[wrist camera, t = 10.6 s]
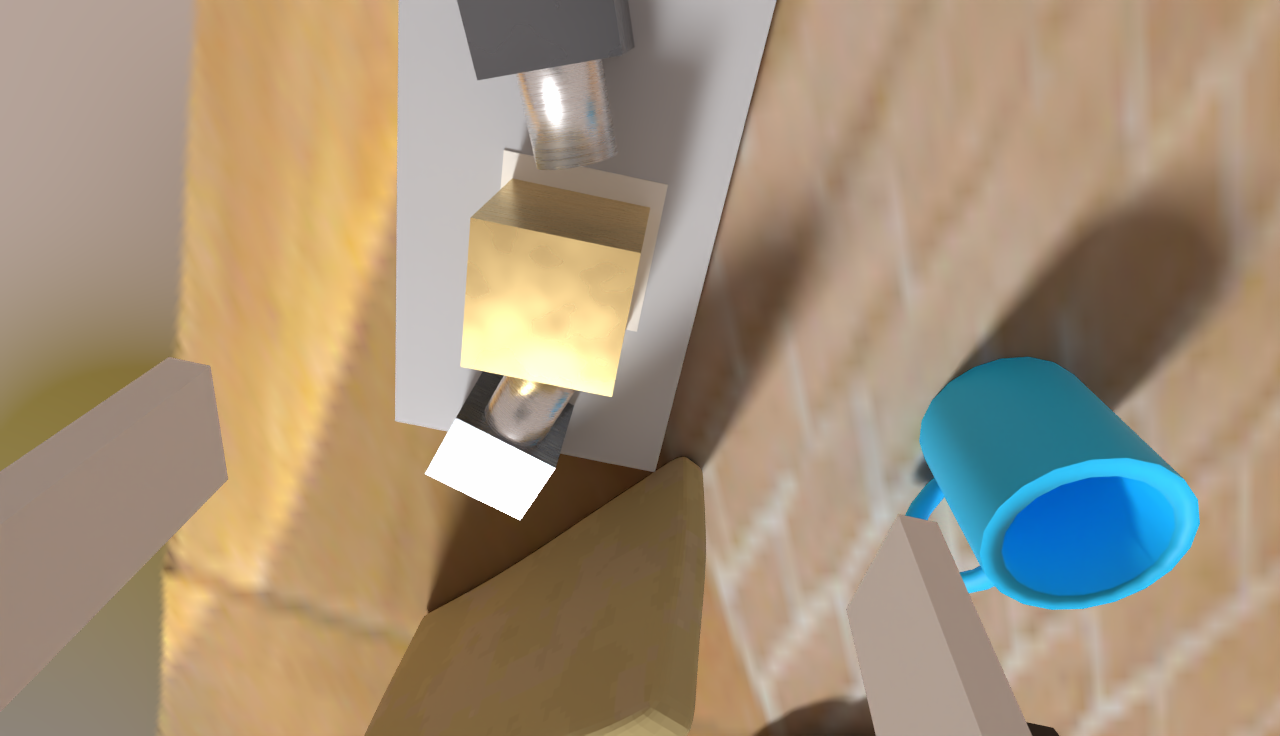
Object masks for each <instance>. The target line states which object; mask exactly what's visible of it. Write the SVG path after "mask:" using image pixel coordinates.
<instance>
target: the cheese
mask: <svg viewBox="0 0 1280 736" xmlns="http://www.w3.org/2000/svg"><path fill="white" fill-rule="evenodd" d="M705 562H706V528H705V506H704V488H703V474H702V470H701V468H700V467H699V466H697V465H696V464H695V463H693V462H692V461H691V460H689V459H688V458H686V457H679V458H676V459H674V460H672V461H670V462H669V463H667V464H666V465H664V466H662V467H661V468H659V469H658V470H656V471H655V472H654V473H652V474H651V475H649V476H648V477H646V478H645V479H643V480H642V481H640V482H639V483H637V484H636V485H634V486H633V487H631V488H630V489H628V490H627V491H625V492H624V493H622V494H621V495H619V496H617V497H616V498H614V499H613V500H611V501H610V502H608V503H607V504H605V505H604V506H602V507H601V508H599V509H598V510H596V511H595V512H593V513H592V514H590V515H589V516H587V517H586V518H584V519H583V520H581V521H580V522H578V523H577V524H575V525H574V526H573V527H571V528H570V529H568V530H567V531H565V532H564V533H562V534H561V535H559V536H558V537H556V538H555V539H553V540H552V541H550V542H549V543H547V544H546V545H544V546H543V547H541V548H540V549H538V550H537V551H535V552H534V553H532V554H531V555H529V556H527V557H526V558H524V559H523V560H521V561H520V562H518V563H516V564H515V565H513V566H512V567H510V568H508V569H507V570H505V571H503V572H502V573H500V574H499V575H497V576H495V577H493V578H492V579H490V580H488V581H487V582H485V583H483V584H481V585H480V586H478V587H476V588H474V589H473V590H471V591H469V592H467V593H466V594H464V595H462V596H460V597H458V598H456V599H455V600H453V601H451V602H449V603H447V604H445V605H443V606H441V607H440V608H438V609H436V610H434V611H432V612H430V613H428V614H427V615H426V616H424V618H423V619H422V621H421V623H420V625H419V627H418V629H417V631H416V633H415V635H414V637H413V639H412V641H411V643H410V645H409V647H408V649H407V651H406V652H405V654H404V656H403V658H402V660H401V662H400V664H399V666H398V668H397V670H396V672H395V674H394V676H393V678H392V680H391V682H390V684H389V686H388V688H387V690H386V692H385V694H384V696H383V698H382V700H381V702H380V704H379V706H378V708H377V710H376V712H375V714H374V716H373V718H372V720H371V723H370V725H369V727H368V729H367V731H366V733H365V736H687V734H688V732H689V730H690V728H691V725H692V721H693V716H694V709H695V698H696V683H697V668H698V654H699V641H700V629H701V618H702V606H703V594H704V581H705Z"/></svg>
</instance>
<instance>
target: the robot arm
mask: <svg viewBox="0 0 1280 736" xmlns="http://www.w3.org/2000/svg"><path fill="white" fill-rule="evenodd" d="M227 480H228V476H227V469H226V463H225V457H224V450H223V444H222V437H221V431H220V424H219V418H218V412H217V405H216V399H215V392H214V386H213V379H212V373H211V367H210V366H208V365H203V364H199V363H194V362H190V361H185V360H180V359H176V358H171V357H168V358H167V359H165V360H164V361H162V362H161V363H159V364H158V365H156V366H155V367H153V368H152V369H151V370H149V371H148V372H146V373H145V374H143V375H142V376H140V377H139V378H137V379H136V380H134V381H133V382H131V383H130V384H129V385H127V386H126V387H124V388H123V389H121V390H120V391H118V392H117V393H115V394H114V395H112V396H111V397H109V398H108V399H107V400H105V401H103V402H102V403H101V404H99V405H98V406H96V407H95V408H93V409H92V410H90V411H89V412H87V413H86V414H84V415H83V416H82V417H80V418H79V419H77V420H76V421H74V422H73V423H71V424H70V425H68V426H67V427H65V428H64V429H62V430H61V431H59V432H58V433H56V434H55V435H53V436H52V437H51V438H49V439H47V440H46V441H45V442H43V443H42V444H40V445H39V446H37V447H36V448H34V449H33V450H31V451H30V452H28V453H27V454H25V455H24V456H23V457H21V458H20V459H18V460H17V461H15V462H14V463H12V464H11V465H9V466H8V467H6V468H5V469H3V470H2V471H0V712H1V711H2V710H3V709H4V708H5V707H6V706H7V704H8V703H10V701H11V700H12V699H13V698H14V697H15V696H16V695H17V694H18V693H19V692H20V691H21V690H22V689H23V688H24V687H25V686H26V685H27V684H28V683H29V682H30V681H31V680H32V679H33V678H34V677H35V676H36V675H37V674H38V673H39V672H40V671H41V670H42V669H43V668H44V667H45V666H46V665H47V664H48V663H49V662H50V661H51V659H53V658H54V657H55V655H56V654H58V652H59V651H60V650H61V649H62V648H63V647H64V646H65V645H66V644H67V643H68V642H69V641H70V640H71V639H72V638H73V637H74V636H75V635H76V634H77V633H78V632H79V631H80V630H81V629H82V628H83V627H84V626H85V625H86V624H87V623H88V622H89V621H90V620H91V619H92V618H93V617H94V616H95V614H97V613H98V611H100V610H101V609H102V608H103V606H104V605H105V604H106V603H107V602H108V601H109V600H110V599H111V598H112V597H113V596H114V595H115V594H116V593H117V592H118V591H119V590H120V589H121V588H122V587H123V586H124V585H125V584H126V583H127V582H128V581H129V580H130V579H131V578H132V577H133V576H134V575H135V574H136V573H137V572H138V571H139V570H140V569H141V568H142V567H143V565H144V564H146V562H148V561H149V559H150V558H151V557H152V556H153V555H154V554H155V553H156V552H157V551H158V550H159V549H160V548H161V547H162V546H163V545H164V544H165V543H166V542H167V541H168V540H169V539H170V538H171V537H172V536H173V535H174V534H175V533H176V532H177V531H178V530H179V529H180V528H181V527H182V526H183V525H184V524H185V523H186V522H187V521H188V520H189V519H190V518H191V517H192V516H193V515H194V514H195V512H196V511H197V510H198V509H199V508H200V507H201V506H202V505H203V504H204V503H205V502H206V501H207V500H208V499H209V498H210V497H211V496H212V495H213V494H214V493H215V492H216V491H217V490H218V489H219V488H220V487H221V486H222V485H223V484H224V483H225V482H226V481H227ZM846 610H847V615H848V619H849V623H850V628H851V632H852V636H853V640H854V645H855V649H856V653H857V657H858V662H859V666H860V670H861V674H862V679H863V683H864V687H865V691H866V696H867V700H868V704H869V708H870V713H871V717H872V721H873V725H874V730H875V734H876V736H1059V735H1058V733H1057V732H1056V731H1055V730H1054V728H1051V727H1046V726H1042V725H1037V724H1032V723H1027V722H1026V721H1025V719H1024V716H1023V714H1022V712H1021V710H1020V707H1019V705H1018V703H1017V701H1016V698H1015V696H1014V694H1013V692H1012V689H1011V687H1010V685H1009V683H1008V680H1007V678H1006V676H1005V674H1004V671H1003V669H1002V667H1001V665H1000V662H999V660H998V658H997V656H996V653H995V651H994V649H993V647H992V644H991V642H990V640H989V638H988V636H987V633H986V631H985V629H984V627H983V624H982V622H981V620H980V618H979V615H978V613H977V611H976V609H975V606H974V604H973V602H972V600H971V597H970V595H969V593H968V591H967V588H966V586H965V584H964V582H963V579H962V577H961V575H960V573H959V570H958V568H957V566H956V564H955V561H954V559H953V557H952V555H951V552H950V550H949V548H948V546H947V544H946V541H945V539H944V537H943V535H942V532H941V530H940V528H939V526H938V523H937V522H933V521H928V520H924V519H919V518H914V517H910V516H905V515H900V514H898V516H897V517H896V519H895V521H894V523H893V525H892V526H891V528H890V530H889V532H888V534H887V536H886V537H885V539H884V541H883V543H882V545H881V547H880V548H879V550H878V552H877V554H876V556H875V558H874V559H873V561H872V563H871V565H870V567H869V568H868V570H867V572H866V574H865V576H864V578H863V579H862V581H861V583H860V585H859V587H858V589H857V590H856V592H855V594H854V596H853V598H852V600H851V601H850V603H849V605H848V607H847V609H846Z"/></svg>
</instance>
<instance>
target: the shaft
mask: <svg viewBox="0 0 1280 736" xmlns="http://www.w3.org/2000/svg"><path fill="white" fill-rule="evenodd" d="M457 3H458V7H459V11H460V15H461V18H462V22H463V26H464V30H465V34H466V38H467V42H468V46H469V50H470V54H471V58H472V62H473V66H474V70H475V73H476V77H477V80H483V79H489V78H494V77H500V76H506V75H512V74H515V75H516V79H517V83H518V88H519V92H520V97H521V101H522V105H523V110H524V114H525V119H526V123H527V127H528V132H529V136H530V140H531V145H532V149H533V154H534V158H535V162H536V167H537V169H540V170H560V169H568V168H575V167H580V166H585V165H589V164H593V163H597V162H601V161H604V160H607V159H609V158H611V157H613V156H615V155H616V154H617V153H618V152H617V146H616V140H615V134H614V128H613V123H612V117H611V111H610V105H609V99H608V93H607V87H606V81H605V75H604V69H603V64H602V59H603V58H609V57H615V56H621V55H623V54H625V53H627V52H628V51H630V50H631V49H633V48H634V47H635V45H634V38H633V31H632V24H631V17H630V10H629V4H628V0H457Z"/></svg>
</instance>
